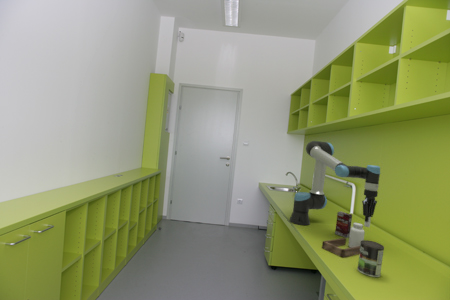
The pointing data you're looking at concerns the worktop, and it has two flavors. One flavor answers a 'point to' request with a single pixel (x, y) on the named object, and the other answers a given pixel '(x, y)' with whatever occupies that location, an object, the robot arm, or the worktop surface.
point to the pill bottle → (356, 235)
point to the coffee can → (370, 258)
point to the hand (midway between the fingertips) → (366, 226)
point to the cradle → (332, 247)
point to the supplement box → (343, 224)
